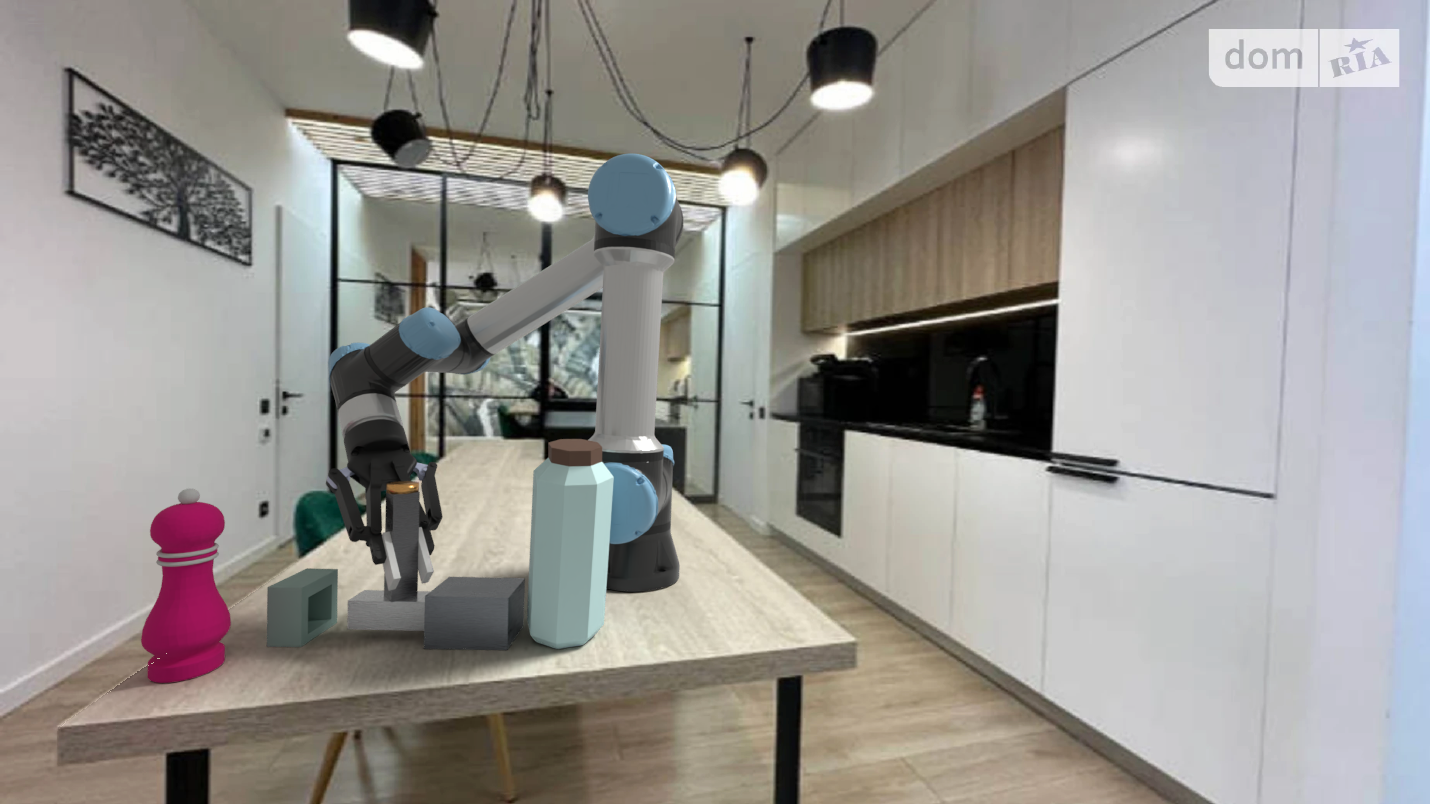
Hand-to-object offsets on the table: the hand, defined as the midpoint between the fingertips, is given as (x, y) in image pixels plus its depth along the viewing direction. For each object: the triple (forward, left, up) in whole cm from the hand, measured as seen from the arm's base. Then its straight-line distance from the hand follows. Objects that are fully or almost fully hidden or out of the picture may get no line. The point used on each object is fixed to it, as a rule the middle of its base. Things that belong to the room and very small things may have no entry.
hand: (411, 580), depth 70 cm
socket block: (+15, -3, -8) cm, 17 cm away
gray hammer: (-1, -3, -7) cm, 7 cm away
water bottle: (-18, -4, -8) cm, 20 cm away
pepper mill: (+21, +6, -8) cm, 23 cm away
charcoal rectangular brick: (-7, -3, -8) cm, 11 cm away
